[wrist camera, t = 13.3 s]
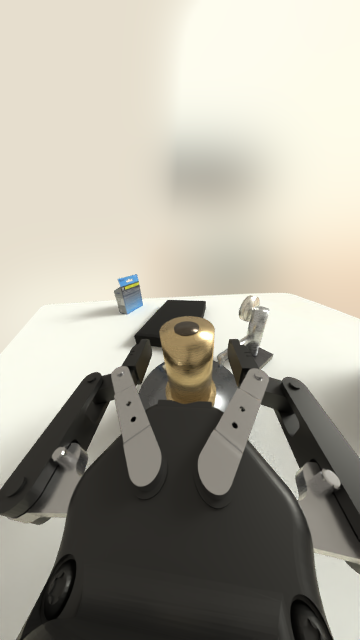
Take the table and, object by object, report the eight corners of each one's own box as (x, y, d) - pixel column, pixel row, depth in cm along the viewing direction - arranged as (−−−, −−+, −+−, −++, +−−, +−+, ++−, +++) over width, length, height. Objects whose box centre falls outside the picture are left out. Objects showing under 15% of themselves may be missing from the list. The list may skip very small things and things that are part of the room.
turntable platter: (195, 350, 27) (194, 343, 26) (268, 408, 17) (272, 400, 16) (125, 391, 20) (122, 383, 20) (178, 529, 10) (176, 525, 9)
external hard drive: (205, 309, 48) (205, 301, 47) (195, 353, 29) (195, 341, 27) (168, 307, 52) (167, 299, 50) (136, 345, 32) (133, 335, 31)
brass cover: (192, 366, 22) (189, 307, 17) (226, 396, 17) (236, 327, 12) (157, 390, 18) (141, 327, 14) (187, 435, 14) (180, 364, 9)
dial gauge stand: (242, 343, 30) (252, 291, 24) (271, 358, 25) (292, 299, 20) (203, 370, 24) (204, 311, 18) (232, 396, 20) (245, 329, 14)
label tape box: (136, 304, 56) (129, 273, 50) (144, 305, 54) (137, 273, 48) (119, 313, 49) (109, 278, 43) (128, 314, 47) (118, 279, 42)
